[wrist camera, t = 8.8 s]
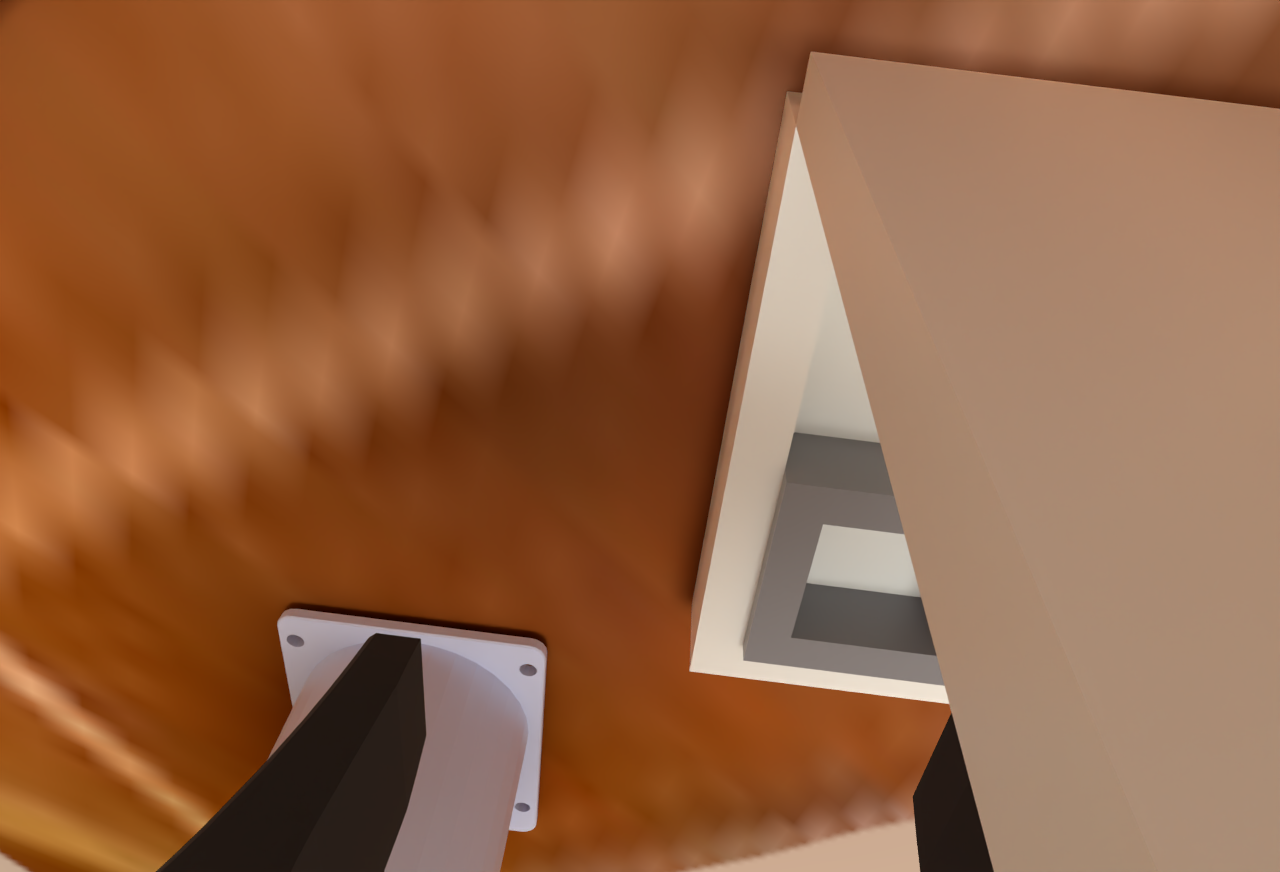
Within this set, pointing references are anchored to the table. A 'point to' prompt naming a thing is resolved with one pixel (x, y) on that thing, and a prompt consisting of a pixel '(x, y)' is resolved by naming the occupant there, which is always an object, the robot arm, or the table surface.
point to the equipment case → (1021, 450)
